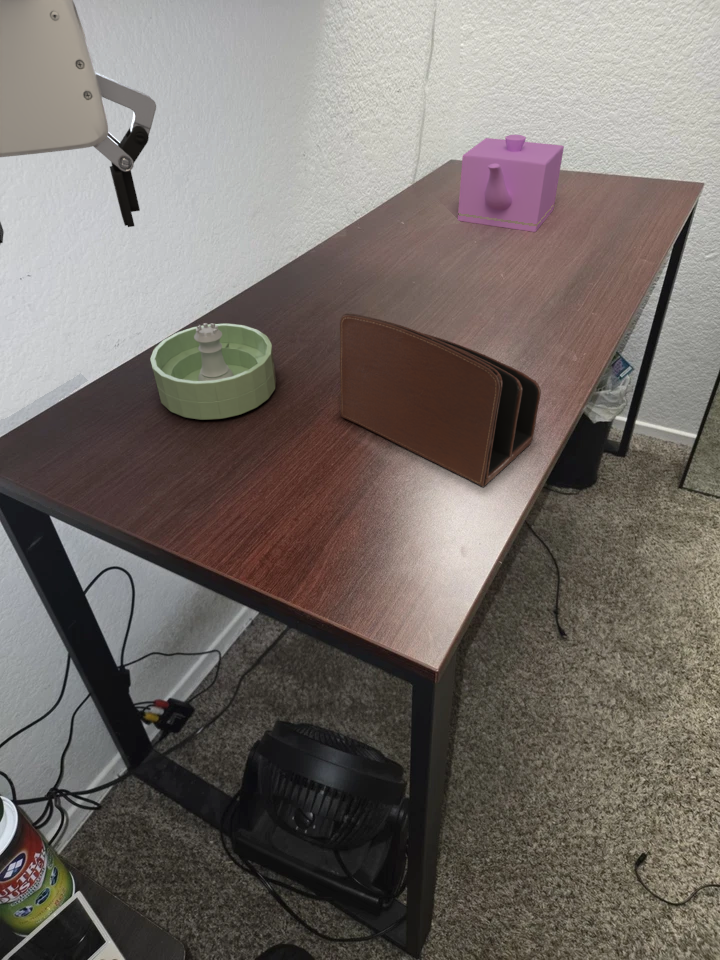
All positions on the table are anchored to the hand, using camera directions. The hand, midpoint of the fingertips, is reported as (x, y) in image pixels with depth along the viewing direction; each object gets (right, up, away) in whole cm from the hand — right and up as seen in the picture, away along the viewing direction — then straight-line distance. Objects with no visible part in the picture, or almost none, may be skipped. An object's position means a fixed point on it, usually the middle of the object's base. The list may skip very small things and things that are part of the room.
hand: (65, 230), depth 51 cm
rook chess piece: (+5, -8, +30) cm, 32 cm away
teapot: (+51, +31, +76) cm, 97 cm away
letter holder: (+31, -14, +23) cm, 42 cm away
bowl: (+5, -8, +31) cm, 32 cm away
